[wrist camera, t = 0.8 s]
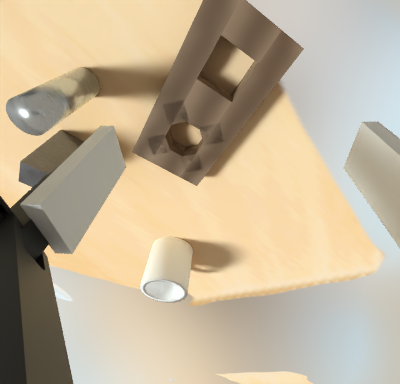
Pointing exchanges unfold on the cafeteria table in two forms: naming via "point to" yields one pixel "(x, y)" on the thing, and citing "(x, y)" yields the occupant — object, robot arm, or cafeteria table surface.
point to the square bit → (47, 157)
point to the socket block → (214, 87)
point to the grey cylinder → (52, 101)
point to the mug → (168, 270)
